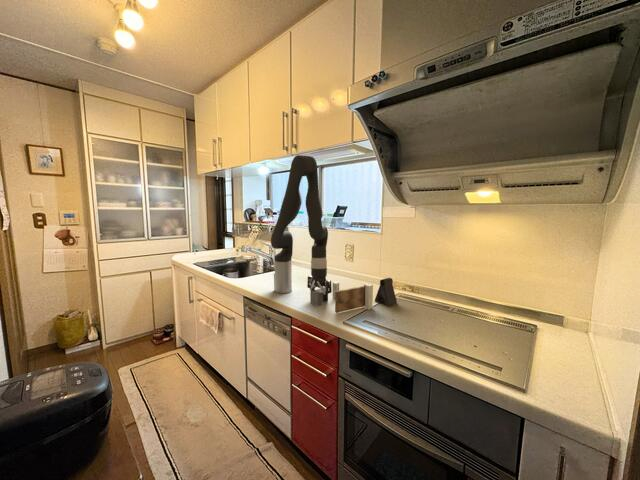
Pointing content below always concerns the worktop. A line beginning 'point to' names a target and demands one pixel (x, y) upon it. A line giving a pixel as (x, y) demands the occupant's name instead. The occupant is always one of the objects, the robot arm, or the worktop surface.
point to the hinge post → (368, 296)
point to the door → (349, 299)
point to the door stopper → (386, 293)
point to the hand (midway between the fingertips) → (319, 299)
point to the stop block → (317, 297)
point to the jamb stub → (335, 288)
